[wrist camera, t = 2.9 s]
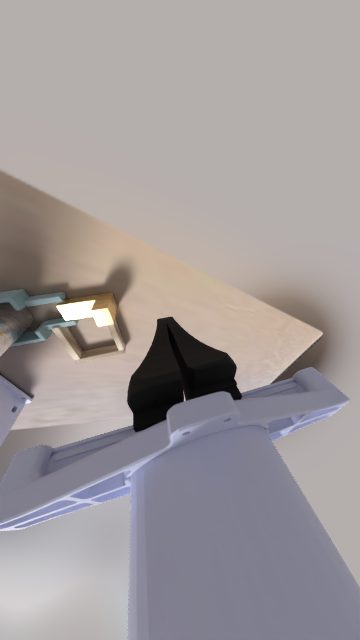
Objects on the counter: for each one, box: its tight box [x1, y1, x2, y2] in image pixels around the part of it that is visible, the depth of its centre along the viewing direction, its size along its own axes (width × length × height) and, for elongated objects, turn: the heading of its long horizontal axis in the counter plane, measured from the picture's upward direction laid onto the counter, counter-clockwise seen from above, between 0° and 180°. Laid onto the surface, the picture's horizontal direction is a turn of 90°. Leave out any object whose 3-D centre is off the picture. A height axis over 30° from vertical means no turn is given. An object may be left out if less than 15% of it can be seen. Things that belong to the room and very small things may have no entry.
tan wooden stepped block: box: [56, 292, 117, 327], centre depth 16 cm, size 2×6×4 cm, turn 93°
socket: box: [0, 289, 79, 347], centre depth 15 cm, size 6×10×4 cm, turn 93°
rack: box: [52, 320, 126, 363], centre depth 20 cm, size 6×7×2 cm
